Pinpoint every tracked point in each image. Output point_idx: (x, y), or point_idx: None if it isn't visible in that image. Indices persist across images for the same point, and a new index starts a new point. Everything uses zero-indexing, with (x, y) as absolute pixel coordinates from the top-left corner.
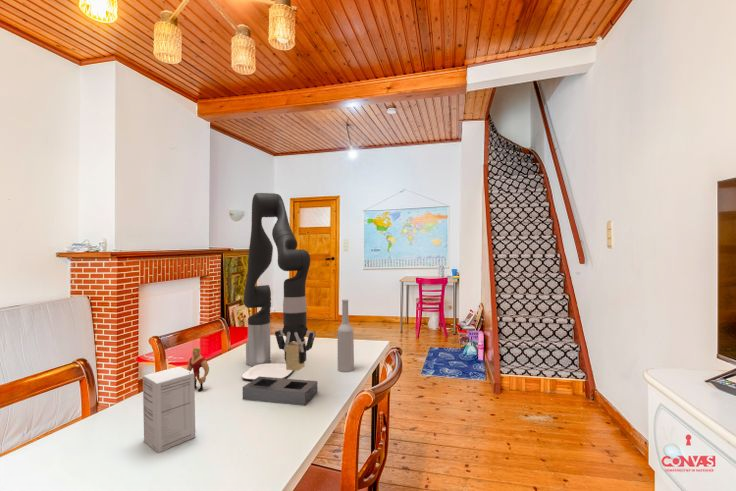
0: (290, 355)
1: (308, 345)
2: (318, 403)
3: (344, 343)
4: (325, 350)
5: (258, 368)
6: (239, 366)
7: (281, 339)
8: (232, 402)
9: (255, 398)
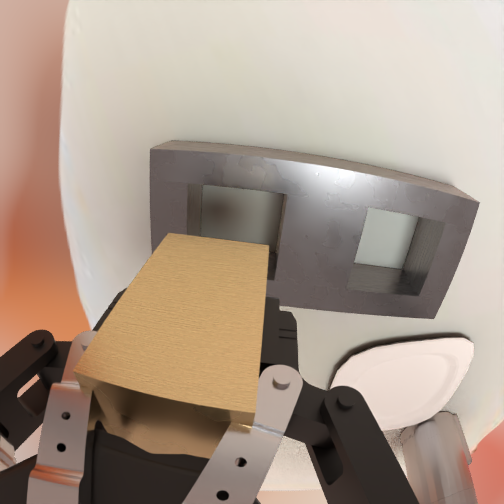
0: (211, 310)
1: (12, 360)
2: (130, 170)
3: None
4: (273, 482)
5: (430, 403)
6: (471, 403)
7: (344, 487)
8: (476, 160)
9: (408, 175)
